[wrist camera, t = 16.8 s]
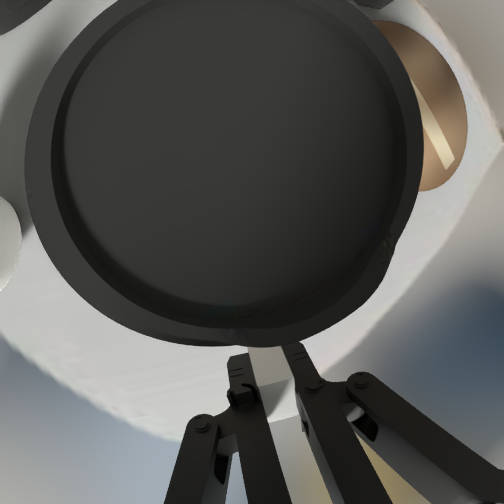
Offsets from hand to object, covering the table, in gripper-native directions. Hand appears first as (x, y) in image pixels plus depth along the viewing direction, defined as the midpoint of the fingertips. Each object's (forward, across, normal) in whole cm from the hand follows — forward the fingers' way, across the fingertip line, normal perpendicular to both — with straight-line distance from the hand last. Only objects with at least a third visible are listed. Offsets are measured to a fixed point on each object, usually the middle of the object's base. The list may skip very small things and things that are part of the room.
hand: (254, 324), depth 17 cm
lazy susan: (+4, +15, +13) cm, 20 cm away
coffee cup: (+4, 0, +10) cm, 11 cm away
